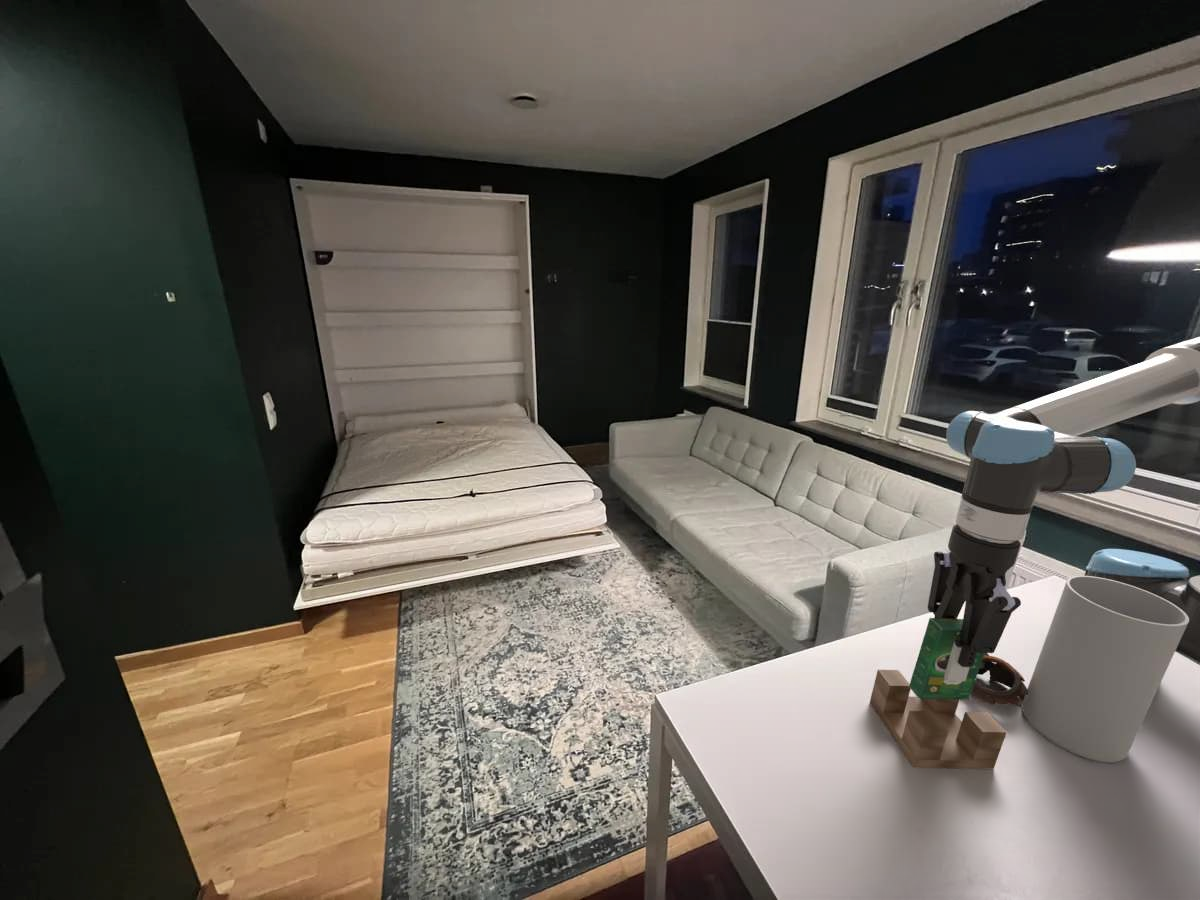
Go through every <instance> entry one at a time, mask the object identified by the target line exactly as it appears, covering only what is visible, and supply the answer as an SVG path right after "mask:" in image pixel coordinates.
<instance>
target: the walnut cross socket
mask: <svg viewBox="0 0 1200 900" xmlns="http://www.w3.org/2000/svg"><path fill="white" fill-rule="evenodd" d="M909 686H910V682H909V681H908V680H907V679H906V677H905V676H904V674H902V673H901V671H900V670H898V669H877V671H876V675H875V680H874V685H873V687H872V692H871V696H870V699H869V704H870V705H871V708H873V709H874V711H875V713H876V715H877V716H878V717H879V719H880V720H881V722H882V723H883V725H884V726H885V727H886V729H887V731H888V732H889V733H890V735H891V736H892V738H893V739H894V740H895V742H896V743H897V745H898V746H899V748H900V749H901V751H902V752H903V754H904V756H905V758H907V760H908V761H909V763H910V765H911V766H912V767H913V768H917V769H918V768H921V769H971V770H972V769H975V770H977V769H979V770H982V769H984V770H994V769H995V767H996V763H997V760H998V757H999V755H1000V753H1001V749H1002V747H1003V745H1004V744H1003V743H1004V741H1005V738H1006V736H1007V731H1006V730H1005V729H1004V728H1003V727H1002V726H1001V725H1000V723H998V722H997V720H995V718H993V716H992V715H991V714H990V713H989V712H987V711H986V712H982V711H980V712H979V711H977V712H974V711H965V712H964V714H963V717H962V720H961V718H959V717H958V715H956V712H957V709H958V706H959V702H960V700H954V699H931V700H930V699H919V698H918V697H917V696H910V692H911V689H910V687H909Z"/></svg>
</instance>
